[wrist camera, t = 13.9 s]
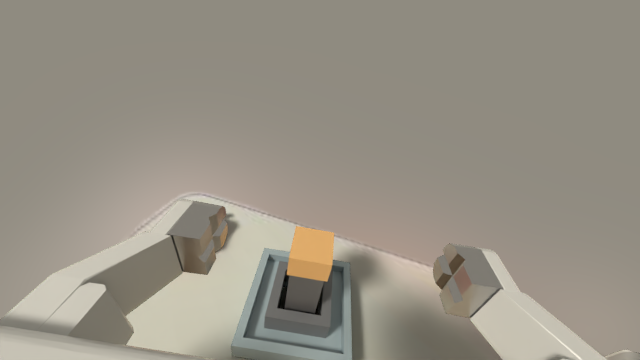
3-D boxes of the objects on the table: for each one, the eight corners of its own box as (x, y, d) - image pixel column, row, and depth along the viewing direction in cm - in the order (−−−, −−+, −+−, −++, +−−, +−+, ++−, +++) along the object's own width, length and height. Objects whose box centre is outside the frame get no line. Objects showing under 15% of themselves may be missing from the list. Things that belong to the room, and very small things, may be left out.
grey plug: (316, 295, 37) (334, 232, 29) (313, 327, 33) (332, 265, 25) (286, 290, 37) (296, 226, 29) (280, 322, 33) (288, 257, 25)
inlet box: (345, 273, 41) (352, 256, 39) (346, 374, 30) (355, 360, 27) (264, 259, 41) (264, 241, 38) (232, 356, 29) (230, 339, 27)
